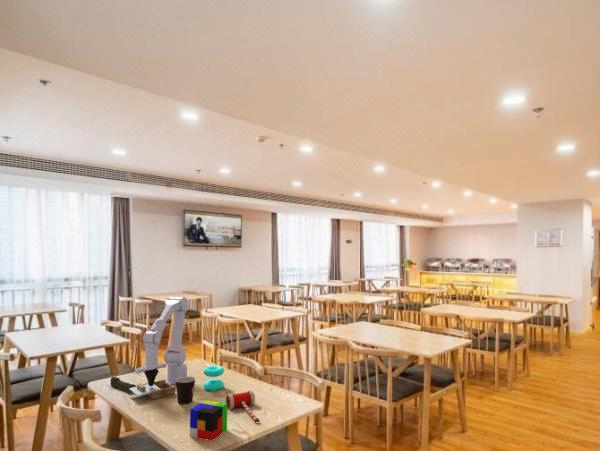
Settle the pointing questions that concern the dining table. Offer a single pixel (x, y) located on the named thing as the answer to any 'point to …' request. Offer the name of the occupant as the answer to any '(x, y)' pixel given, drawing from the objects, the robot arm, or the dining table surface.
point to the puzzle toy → (208, 419)
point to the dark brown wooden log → (121, 384)
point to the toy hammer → (242, 401)
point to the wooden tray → (164, 392)
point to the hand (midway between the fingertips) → (150, 385)
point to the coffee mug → (185, 389)
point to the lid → (143, 389)
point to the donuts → (213, 383)
